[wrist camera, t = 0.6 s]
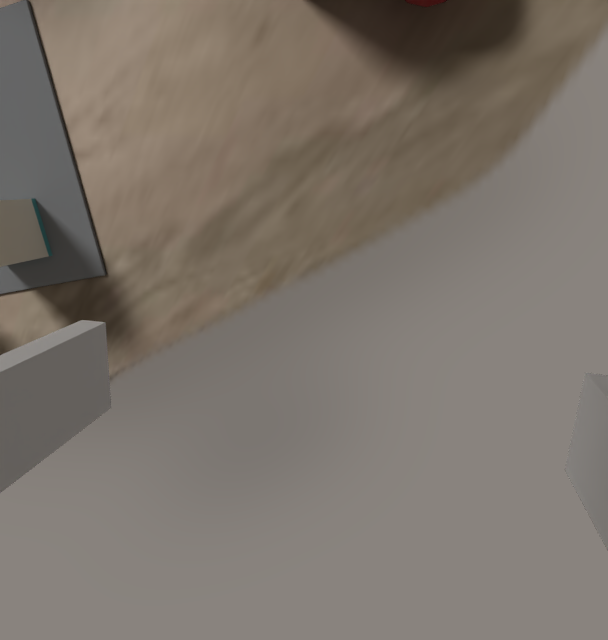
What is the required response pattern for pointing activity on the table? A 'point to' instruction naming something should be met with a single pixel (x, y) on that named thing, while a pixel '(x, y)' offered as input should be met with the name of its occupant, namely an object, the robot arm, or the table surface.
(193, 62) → the table surface
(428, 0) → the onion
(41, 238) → the cream teal rectangular block
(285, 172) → the table surface
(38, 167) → the mat
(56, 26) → the table surface
